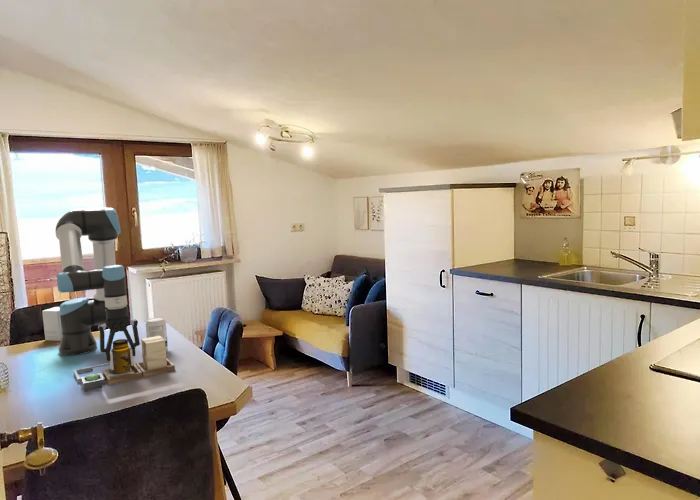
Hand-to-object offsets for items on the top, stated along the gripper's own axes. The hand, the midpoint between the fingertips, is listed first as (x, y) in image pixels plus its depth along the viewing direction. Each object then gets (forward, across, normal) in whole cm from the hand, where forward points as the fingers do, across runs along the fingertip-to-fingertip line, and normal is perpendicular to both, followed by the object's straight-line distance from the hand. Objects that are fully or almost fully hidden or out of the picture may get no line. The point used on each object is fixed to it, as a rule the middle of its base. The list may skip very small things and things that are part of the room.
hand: (122, 366), depth 191 cm
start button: (+3, -10, 0) cm, 11 cm away
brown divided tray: (+5, +6, 0) cm, 8 cm away
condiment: (+2, -1, 0) cm, 2 cm away
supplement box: (+5, -14, +82) cm, 83 cm away
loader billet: (+4, +12, 0) cm, 12 cm away
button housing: (+5, -10, 0) cm, 11 cm away
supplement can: (+5, +19, +25) cm, 31 cm away
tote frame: (+5, -5, +13) cm, 15 cm away
